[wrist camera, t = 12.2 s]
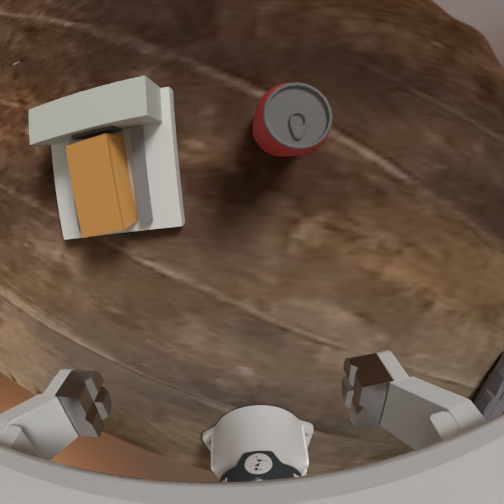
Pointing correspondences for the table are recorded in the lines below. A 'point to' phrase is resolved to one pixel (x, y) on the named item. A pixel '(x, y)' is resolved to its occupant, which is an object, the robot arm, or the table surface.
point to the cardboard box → (101, 184)
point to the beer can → (292, 120)
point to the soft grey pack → (492, 393)
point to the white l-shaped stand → (136, 144)
